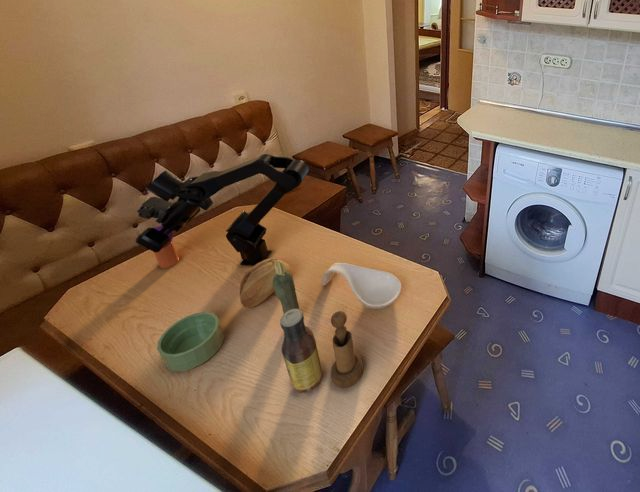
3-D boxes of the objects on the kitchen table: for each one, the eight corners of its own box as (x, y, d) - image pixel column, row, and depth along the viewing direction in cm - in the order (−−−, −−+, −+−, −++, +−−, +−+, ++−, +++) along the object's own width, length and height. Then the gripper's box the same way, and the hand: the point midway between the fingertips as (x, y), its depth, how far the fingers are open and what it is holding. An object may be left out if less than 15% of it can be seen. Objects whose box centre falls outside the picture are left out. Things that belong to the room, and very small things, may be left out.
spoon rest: (409, 288, 101) (408, 269, 98) (387, 322, 90) (385, 301, 87) (339, 267, 107) (336, 248, 105) (311, 296, 97) (307, 276, 94)
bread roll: (230, 306, 94) (222, 284, 90) (273, 267, 107) (268, 246, 104) (260, 316, 91) (253, 293, 88) (300, 274, 104) (295, 253, 101)
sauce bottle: (298, 366, 79) (281, 301, 71) (327, 365, 80) (313, 300, 72) (287, 397, 73) (267, 330, 65) (318, 395, 74) (302, 328, 66)
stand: (182, 257, 110) (175, 239, 107) (171, 268, 106) (163, 249, 103) (168, 256, 110) (160, 238, 107) (155, 267, 106) (147, 249, 103)
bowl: (234, 329, 88) (229, 313, 85) (202, 374, 77) (195, 357, 75) (189, 327, 88) (183, 311, 86) (152, 372, 78) (143, 355, 75)
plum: (181, 238, 108) (175, 221, 106) (164, 253, 102) (157, 235, 100) (160, 238, 108) (153, 220, 106) (142, 252, 102) (134, 234, 100)
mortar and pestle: (354, 391, 75) (344, 331, 68) (326, 384, 76) (313, 325, 69) (368, 361, 81) (360, 304, 74) (342, 356, 82) (332, 298, 75)
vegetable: (306, 318, 91) (292, 257, 83) (293, 332, 87) (278, 270, 79) (292, 313, 92) (277, 252, 84) (279, 327, 88) (262, 265, 80)
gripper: (178, 175, 107) (151, 207, 110) (130, 211, 90) (100, 247, 93) (213, 196, 111) (185, 227, 114) (173, 235, 94) (142, 269, 97)
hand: (155, 241), depth 104 cm, fingers open, 7 cm apart
